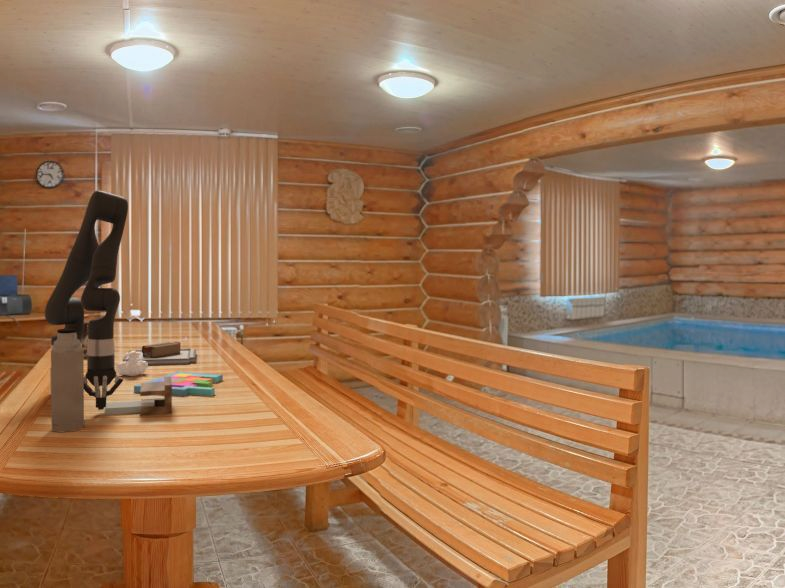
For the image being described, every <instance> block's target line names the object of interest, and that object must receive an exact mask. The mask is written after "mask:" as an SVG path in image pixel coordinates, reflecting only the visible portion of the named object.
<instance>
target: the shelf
mask: <svg viewBox="0 0 785 588" xmlns="http://www.w3.org/2000/svg"><path fill="white" fill-rule="evenodd" d="M140 384H141V390H140V393H139V396H140V397H147V396H148V397H149V396H164V397H160V398H159V397H158V398H143V399H141V400H140V401H148V400H155V407H141V408H140V413H139V414H140V415H139V416H151V415H152V416H153V415H155V416H156V415H167V414H170V415H171V414H172V413H173V408H172V406H173V405H172V404H173V397H172V396H173V395H172V382H171V377H164V382H149V383H144V382H141V383H140Z"/></svg>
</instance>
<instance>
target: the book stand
mask: <svg viewBox="0 0 785 588" xmlns="http://www.w3.org/2000/svg"><path fill="white" fill-rule="evenodd" d="M131 351H136V352H141V354H140V355H139V359H138V358H137V360H138V361H139V360H141V361H146V362H147V363H148V366H170V365H172V366H173V365H175V366H177V365H179V366H180V365H190V364H196V360H197V359H196V358H197V356H196V355H197V348H191V347H189V348H185V347H184V348H181V342H179V341H174V342H161V343H153V344H147V345H142V347H141V349H140V348H139V349H134V350H132V349H131V350H128V352H127V353H130V352H131ZM128 358H129V357H128V355H126V354H125V356H124V357H123V359H122V362H127V361H129V359H128Z"/></svg>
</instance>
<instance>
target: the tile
mask: <svg viewBox="0 0 785 588" xmlns="http://www.w3.org/2000/svg"><path fill="white" fill-rule="evenodd" d="M141 407H156V406H155V400H148V401H141V400H135V401H134V400H132V401H131V400H130V401H117V402H116V401H115V402H106V407H104V415H109V416H111V415H122V414H123V415H125V414H140V408H141Z"/></svg>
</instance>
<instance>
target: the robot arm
mask: <svg viewBox="0 0 785 588" xmlns="http://www.w3.org/2000/svg"><path fill="white" fill-rule="evenodd" d="M128 211H129V202H128V200H127V199H126V198H125V197H123V196H120V195H117V194H113V193H112V192H111V193H110V192H107V191H103V190H95V191H94V192H92V194H91V196H90V198H89V201H88V204H87V206H86V210H85V214H84V216H83V219H82V223H81V225H80V229H79V231H78V233H77V236H76V239H75V241H74V243H73V245H72V248H71V249H70V253H69V255H68V257H67V259H66V262H65V265H64V268H63V270H62V273H61V274H60V278H59V279H58V281H57V284H56V286H55V288H54V290H53V291H52V293H51V295H50V297H49V299H48V300H47V302H46V305H45V309H44V318H45V321H46V322H47V323H48V324H49V325H51V326H64V328H63V329H77V332H76V334H77V339H78V340H80V341H82V336H83V328H84V322H85V311H88V312H105V315H104V316H102V317H97V318H93V319H91V320H89V321H88V322H89V323H88V345H87V357H86V358H87V359H86V360H87V362H86V363H87V365H86V372H85V376H84V392H86V393H87V395H88V396H90V397H94V398H95V408H97V409H98V411H100V410H101V411H102V410H105V407H106V404H107V397H108V396H112V395H113V393H114V392H115V391H116V390H117V389H118V388H119V387H120V386H121V384H122V382H123V381H124V377H122V376H121V377H120V375H119V374H117V370H116V366H115V355H116V354H115V353H116V350H115V349H116V348H115V340H114V333H115V332H114V328H115V327H114V325H115V319H116V315H117V311H118V309H119V305H120V302H121V295H120V292H119V291H118V290H117V289H116V288H112V287H101V286H102V285H106V284H111V283H113V282H114V281H115V280H116V276H117V275H116V274H117V266H118V256H119V255H118V254H119V250H120V245H121V242H122V238H123V236H124V235H123V234H124V231H125V225H126V222H127V218H128ZM97 221H101V222H105V223H109V224H112V229H111V231H110V233H109V234H108V236H106V238H104V239H103V241H102V242H101V243H100V244H99V241H98V238H97V235H96V230H95V229H96V228H95V227H96V222H97ZM85 284H86V285H85ZM84 285H85V288H84V289H83V291H82V293H81V297H80V298H79V297H72V296H73V295H74V294H75V292H77V291H79V289H80V288H81V287H82V286H84ZM57 335H58V333H56V334H54V335H52V336H51V339H50V344H51V345H50V351H51V350H52V349H54V346H53V345H54V341H56V340H57ZM81 348H82V342H81ZM49 369H50V373H49V374H50V375H49V376H50V386H51V367H50V368H49ZM113 380H114V381H113ZM112 382H113V383H114V384H113V385H112V386H111V388H110V389H109V390H108V386H109V385H110V384H111V383H112ZM88 383H90V384H91V385H92V386H93V387H94V390H93V388H92V387H90V386H89V384H88Z"/></svg>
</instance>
